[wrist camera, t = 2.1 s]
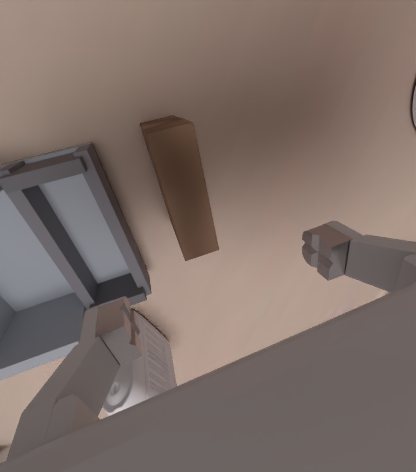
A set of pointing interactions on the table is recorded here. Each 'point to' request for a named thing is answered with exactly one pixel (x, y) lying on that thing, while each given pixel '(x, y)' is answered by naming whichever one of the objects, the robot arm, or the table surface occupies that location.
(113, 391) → the photo printer
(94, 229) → the cabinet
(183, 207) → the brown rectangular block
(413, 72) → the table surface
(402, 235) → the table surface
